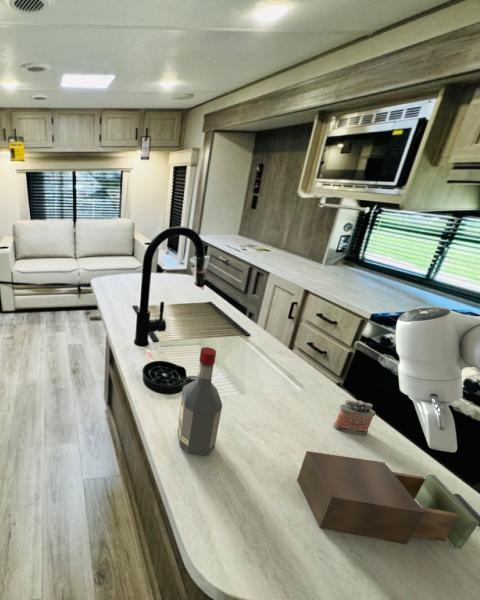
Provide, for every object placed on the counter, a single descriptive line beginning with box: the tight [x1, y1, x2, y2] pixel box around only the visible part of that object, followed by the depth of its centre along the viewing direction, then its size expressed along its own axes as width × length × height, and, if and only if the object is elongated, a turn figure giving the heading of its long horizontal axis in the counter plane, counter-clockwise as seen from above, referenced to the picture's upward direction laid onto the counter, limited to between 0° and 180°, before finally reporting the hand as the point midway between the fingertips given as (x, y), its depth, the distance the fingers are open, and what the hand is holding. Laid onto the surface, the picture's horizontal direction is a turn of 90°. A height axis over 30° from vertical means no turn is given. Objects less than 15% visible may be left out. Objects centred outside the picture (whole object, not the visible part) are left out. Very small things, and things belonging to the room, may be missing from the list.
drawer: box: [392, 471, 480, 550], centre depth 66 cm, size 18×10×8 cm, turn 77°
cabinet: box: [296, 450, 425, 545], centre depth 68 cm, size 16×12×10 cm
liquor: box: [177, 346, 223, 457], centre depth 83 cm, size 9×9×30 cm
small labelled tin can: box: [333, 399, 376, 436], centre depth 89 cm, size 8×3×10 cm, turn 74°
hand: (433, 443), depth 67 cm, fingers closed
